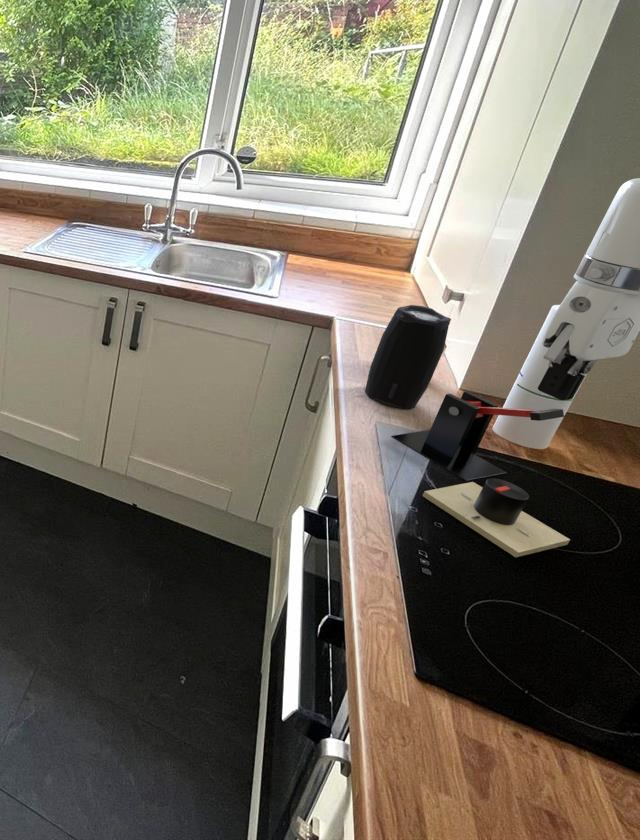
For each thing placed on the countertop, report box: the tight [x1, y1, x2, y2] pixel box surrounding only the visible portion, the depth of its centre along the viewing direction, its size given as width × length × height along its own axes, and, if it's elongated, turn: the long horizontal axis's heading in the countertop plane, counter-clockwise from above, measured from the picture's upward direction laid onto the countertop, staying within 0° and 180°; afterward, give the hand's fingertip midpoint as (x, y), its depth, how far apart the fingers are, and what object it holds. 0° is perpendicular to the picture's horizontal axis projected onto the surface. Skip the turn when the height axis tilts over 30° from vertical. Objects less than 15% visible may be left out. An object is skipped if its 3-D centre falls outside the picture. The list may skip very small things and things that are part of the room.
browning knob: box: [474, 478, 530, 525], centre depth 82 cm, size 4×4×5 cm
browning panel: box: [422, 481, 571, 558], centre depth 83 cm, size 12×10×2 cm
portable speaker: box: [364, 304, 452, 411], centre depth 110 cm, size 9×9×20 cm
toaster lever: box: [467, 401, 565, 421], centre depth 89 cm, size 12×5×2 cm, turn 15°
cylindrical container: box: [492, 304, 588, 450], centre depth 98 cm, size 7×7×25 cm
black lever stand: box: [390, 390, 508, 482], centre depth 95 cm, size 12×9×12 cm
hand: (554, 394), depth 83 cm, fingers closed
